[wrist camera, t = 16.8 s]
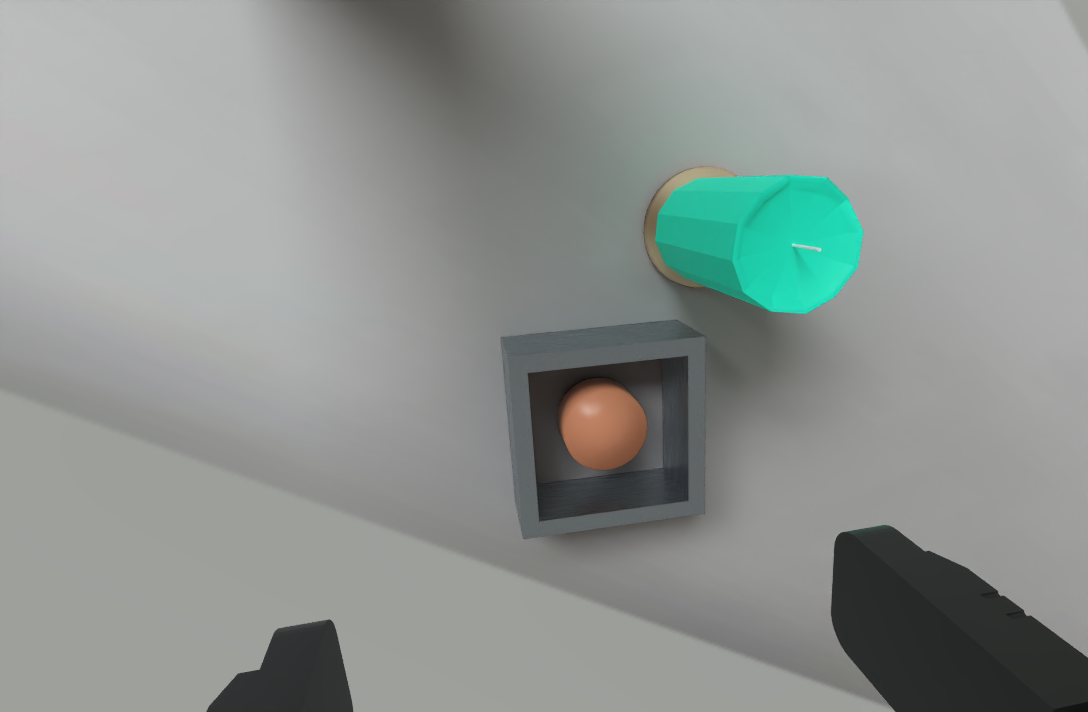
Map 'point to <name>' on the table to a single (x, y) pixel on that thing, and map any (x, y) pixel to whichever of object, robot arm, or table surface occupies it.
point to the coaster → (656, 206)
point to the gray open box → (617, 494)
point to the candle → (762, 238)
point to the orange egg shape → (601, 424)
